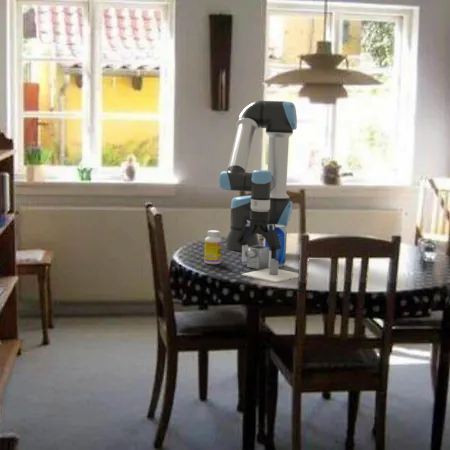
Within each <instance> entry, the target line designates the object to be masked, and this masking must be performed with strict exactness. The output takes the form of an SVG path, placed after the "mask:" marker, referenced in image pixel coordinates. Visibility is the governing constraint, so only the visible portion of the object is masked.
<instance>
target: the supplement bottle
mask: <svg viewBox="0 0 450 450" xmlns="http://www.w3.org/2000/svg"><path fill="white" fill-rule="evenodd" d="M222 242H223V240H222V238H221V237H220V231H219V230H215V229H214V230H212V229H211V230H207V237H205V238H204V256H203V257H204V259H203V262H204V264H208V265H219V264H221V262H222Z"/></svg>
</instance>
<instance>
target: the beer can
mask: <svg viewBox="0 0 450 450" xmlns="http://www.w3.org/2000/svg"><path fill="white" fill-rule="evenodd" d="M271 225H272V224H271ZM275 230H276V233H277V236H278V240H279V243H280V246H281V249H278V250H277V251H276V259H274V260H277V261H279V262H278V268H281V267H284V265H285V264H286V254H287V253H286V252H287V235H288V232H287V229H286V227H285V226H284V225H278V224H275ZM268 231H269V230H268ZM265 233H266V232H265ZM269 233H270V232H269ZM270 236H271V235H270ZM264 246H265V247H269V245H268V243H267V242H266V240H265V239H264ZM269 250H271V249H270V247H269ZM268 263H269V262H268Z"/></svg>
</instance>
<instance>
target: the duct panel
mask: <svg viewBox="0 0 450 450" xmlns="http://www.w3.org/2000/svg"><path fill="white" fill-rule="evenodd" d="M278 262H279V261H277V260H270V267H267V268H263V269H257V270H254V271H250V272H244V273H241V276H242V277H246V276H247V277H246V278H251V277H252V279H256V280H260V281H265V282H270V283H275V284H278V283H282V282H285V281H286V282H287V281H290V280H289V279H291V280H295V279H299V278H298V273H299V272H294V271H289V270H285V269H279V267H278ZM294 278H295V279H294Z"/></svg>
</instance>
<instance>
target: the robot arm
mask: <svg viewBox="0 0 450 450" xmlns="http://www.w3.org/2000/svg"><path fill="white" fill-rule="evenodd" d="M297 126H298V118H297V109H296V106H295V103H293V102H291V101H284V100H283V101H282V100H280V101H279V100H274V101H273V100H255V101H253V102H251V103H250V104H248V105H247V106H246V107H244V108H243V109H242V110H241V112H240V113H239V115H238V116H237V119H236V124H235V127H236V131H235V132H236V133H235V137H234V140H233V145H232V148H231V153H230V157H229V161H228V165H227V170H224V171H221V172H220V175H219V178H218V179H219V181H218V182H219V183H218V184H219V188H220V189H221V190H224V191H234V192H248V193H249V192H251V193H250V195H240V196H236V197H233V198H232V199H231V203H230V223H229V224H230V225H229V233H228V235H227V239H226V241H225V249H227V250H231V251H238V252H240V253H241V262H242V263H247V258H246V256H245V252H246V250H247V249H248V247H249V246H255V245H260V246H261V244H260V240H259V237H258V235H261V236H262V237H263V238H264V241H265V240H266V242H267V243H268V245H269V247H270V249H271V250H269V263H268V267H267V268H270V260H274V259H276V251H277V250H278V249H281V246H280V243H279V240H278V236H277V233H276V230H275V224H278V225H284V226H285V228H286V227H288V226H289V224H290V220H291V216H292V211H293V205H294V204H293V201H291V200H290V195H288V194H287V183H288V180H287V179H288V162H289V160H288V159H289V146H290V145H289V140H290V137H291V136H292V135H294V134H293V133H294V130H297ZM258 129H265V133H266V135H268V147H267V148H268V154H267V170H266V169H265V170H263V169H255V170H254V169H253V171H252V172H247V168H248V163H249V159H250V155H251V151H252V146H253V143H254V138H255V134H256V133H257V132H258ZM271 224H272V225H271ZM268 230H269V231H268ZM265 232H266V233H265ZM269 232H270V233H269ZM270 235H271V236H270Z"/></svg>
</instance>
